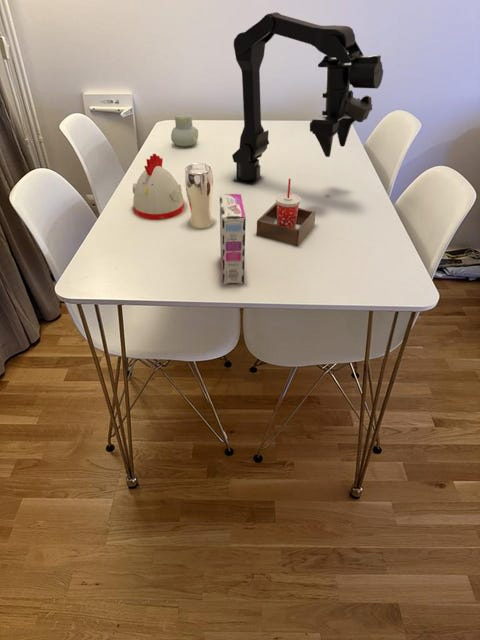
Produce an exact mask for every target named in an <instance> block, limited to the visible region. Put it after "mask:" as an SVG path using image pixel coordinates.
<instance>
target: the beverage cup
mask: <svg viewBox="0 0 480 640" xmlns="http://www.w3.org/2000/svg"><path fill="white" fill-rule="evenodd" d="M291 180H292V179H291V178H288V183H287V184H288V185H287V192H284V193H280V194H278V195H276V196H275V203H277V218H276V224H278V225H282V226H286V227H290V228H294V229H296V225H297V223H296V220H297V214H298V208H300V207H299V206H300V204H301V200H302V199H301V196H299V195H298V194H296V193H290V192H291Z"/></svg>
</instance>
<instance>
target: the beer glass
mask: <svg viewBox="0 0 480 640" xmlns="http://www.w3.org/2000/svg"><path fill="white" fill-rule="evenodd" d="M213 177H214V176H213V168H212V166H211V165H210V164H208V163H204V162H197V163H190V164H188V165H186V166H185V168H184V183H185V185H184V186H185V192H186V197H187V201H188V204H189V208H190V209H189V210H190V220H189V224H190V226H191V227H192V228H194V229H201V230H202V229H207V228H209V227H211V226H213V223H214V220H213V216H212V202H213V195H214V178H213Z"/></svg>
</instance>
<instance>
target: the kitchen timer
mask: <svg viewBox="0 0 480 640" xmlns="http://www.w3.org/2000/svg"><path fill="white" fill-rule="evenodd" d="M163 161H164V159H163V157H161V156H160V155H158V154H157V153H152V155H150V156H149V158H146V165H144V170H143V171H142V172H141V174H140V175H139V177H138V178H137V181H136V182H133V184H132V193H133V199H132V201H133V202H132V203H133V210H134V213H135V215H137V216H138V217H140V218H143V219H145V220H150V221H151V220H152V221H160V220H167V219H171V218H174V217H176V216H179V215H180V214H182V213H183V211H184V210H185V199H184V195H183V192H182V185H181V184H180V183H178V181H177V180H176V178H175V177H174V175H172V173H171V172H169V171H168V169H166V168H165V167H163V163H164V162H163Z"/></svg>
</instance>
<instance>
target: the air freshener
mask: <svg viewBox="0 0 480 640" xmlns="http://www.w3.org/2000/svg"><path fill="white" fill-rule="evenodd" d="M174 120H175V121H174V123H175V127H173V128H172V130H171V133H170V140H171V142H172V144H175V145H176V146H178V147H191V146H193V145H196V144H197V142H198V139H199V130H198V129H197V128H196V127H195V126H193V116H192V114H191V113H188V112H180V113H176V114H175V116H174Z"/></svg>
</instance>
